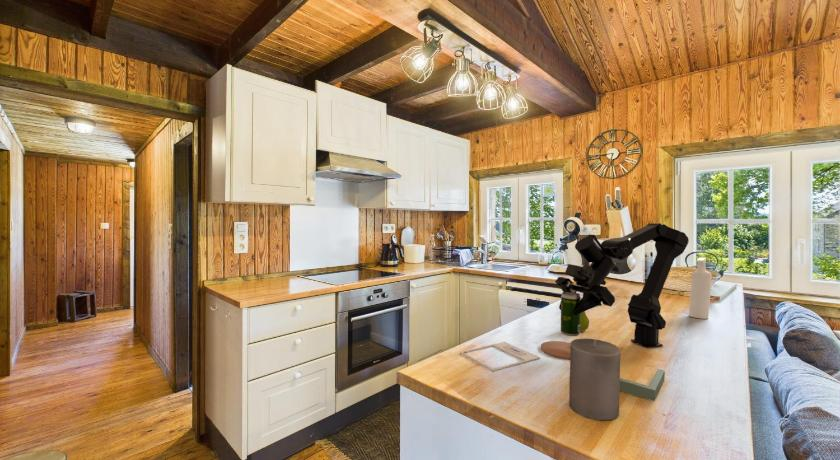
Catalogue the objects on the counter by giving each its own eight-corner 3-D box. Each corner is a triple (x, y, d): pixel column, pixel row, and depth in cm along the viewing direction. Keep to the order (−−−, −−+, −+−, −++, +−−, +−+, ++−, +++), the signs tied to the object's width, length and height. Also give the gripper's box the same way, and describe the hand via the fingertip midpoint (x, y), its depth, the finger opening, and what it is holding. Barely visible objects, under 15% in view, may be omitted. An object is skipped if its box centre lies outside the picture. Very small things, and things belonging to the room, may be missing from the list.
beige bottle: (712, 315, 150) (715, 257, 149) (706, 321, 142) (708, 259, 141) (693, 312, 155) (695, 256, 154) (686, 317, 147) (688, 257, 146)
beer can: (580, 332, 106) (581, 292, 105) (579, 337, 101) (580, 296, 101) (561, 329, 108) (562, 291, 108) (559, 334, 104) (560, 294, 103)
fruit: (570, 331, 127) (570, 298, 126) (569, 326, 133) (570, 295, 132) (589, 334, 124) (590, 300, 124) (588, 329, 130) (589, 297, 130)
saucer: (567, 341, 116) (567, 339, 116) (596, 357, 104) (596, 354, 104) (532, 345, 113) (532, 342, 113) (558, 361, 100) (558, 358, 100)
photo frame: (540, 356, 102) (493, 369, 93) (540, 360, 102) (493, 373, 93) (504, 341, 115) (460, 351, 106) (504, 344, 115) (460, 354, 106)
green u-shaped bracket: (591, 361, 101) (592, 352, 101) (664, 380, 89) (664, 370, 89) (575, 377, 90) (575, 367, 90) (654, 401, 79) (655, 390, 79)
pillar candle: (576, 392, 82) (577, 329, 82) (623, 407, 76) (625, 339, 75) (562, 410, 75) (563, 341, 74) (613, 428, 69) (615, 352, 68)
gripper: (560, 251, 114) (531, 287, 111) (607, 258, 96) (575, 301, 93) (579, 274, 117) (551, 310, 114) (629, 284, 99) (597, 327, 96)
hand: (566, 311), depth 104 cm, fingers closed on beer can, 5 cm apart
